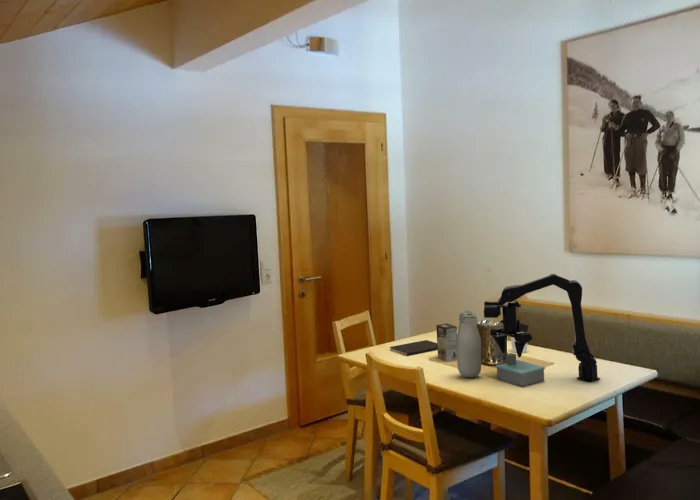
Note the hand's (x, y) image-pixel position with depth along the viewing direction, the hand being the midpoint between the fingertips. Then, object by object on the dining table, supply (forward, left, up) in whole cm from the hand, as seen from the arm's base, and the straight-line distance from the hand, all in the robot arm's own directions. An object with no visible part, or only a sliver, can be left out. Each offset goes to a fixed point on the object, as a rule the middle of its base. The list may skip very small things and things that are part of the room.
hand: (511, 355), depth 250 cm
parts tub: (-5, 0, -10) cm, 11 cm away
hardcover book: (+66, +1, -10) cm, 67 cm away
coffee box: (+41, +1, -10) cm, 42 cm away
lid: (-5, 0, -6) cm, 7 cm away
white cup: (+29, -33, -10) cm, 45 cm away
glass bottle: (+12, +12, -10) cm, 20 cm away
